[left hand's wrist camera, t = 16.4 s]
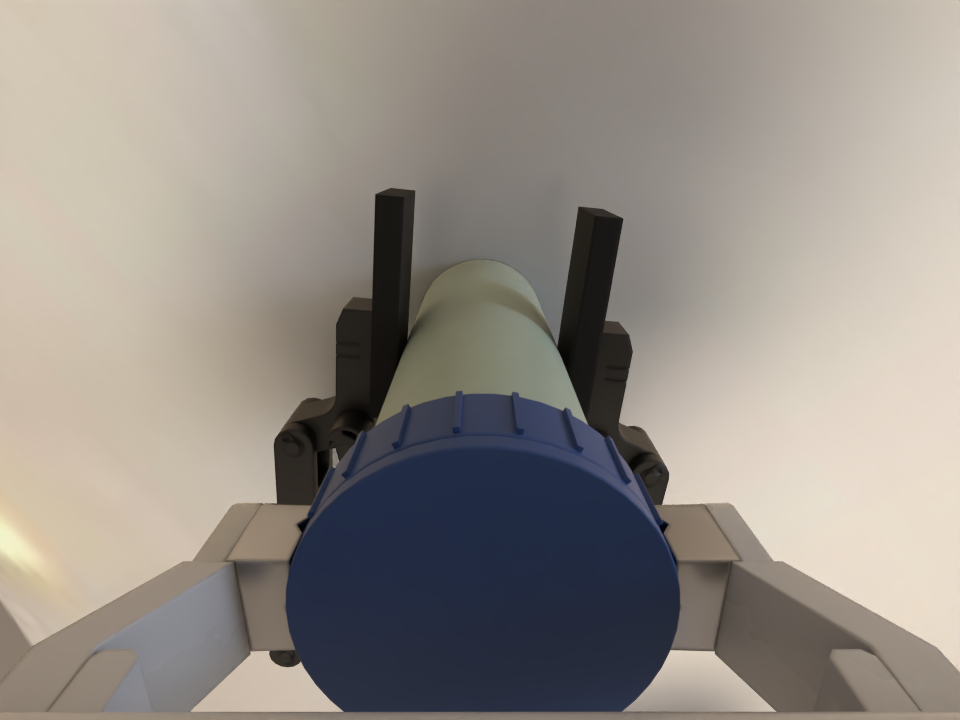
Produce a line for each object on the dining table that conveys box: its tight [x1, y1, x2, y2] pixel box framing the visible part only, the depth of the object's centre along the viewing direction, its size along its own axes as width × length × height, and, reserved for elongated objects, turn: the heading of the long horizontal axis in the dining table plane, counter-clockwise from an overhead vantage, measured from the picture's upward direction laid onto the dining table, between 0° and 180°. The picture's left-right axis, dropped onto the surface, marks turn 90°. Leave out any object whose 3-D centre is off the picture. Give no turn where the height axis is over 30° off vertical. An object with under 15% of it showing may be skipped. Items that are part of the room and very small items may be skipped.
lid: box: [286, 391, 680, 712], centre depth 9 cm, size 6×6×2 cm
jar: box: [375, 260, 588, 426], centre depth 16 cm, size 5×5×16 cm
